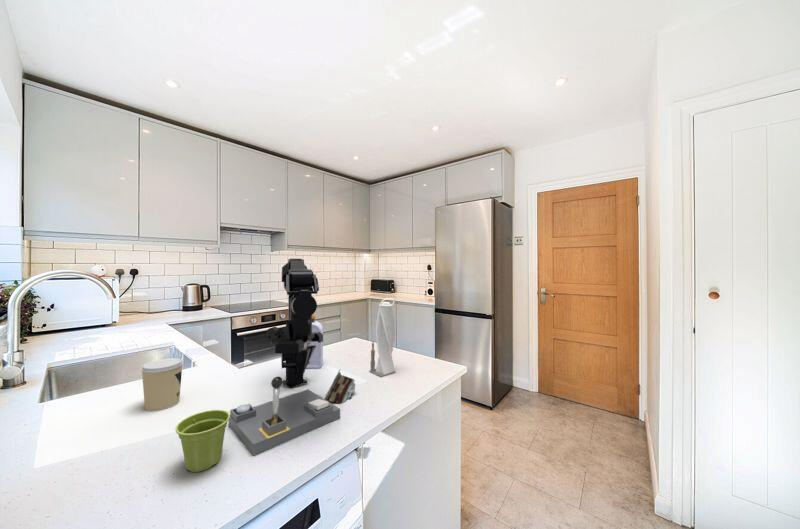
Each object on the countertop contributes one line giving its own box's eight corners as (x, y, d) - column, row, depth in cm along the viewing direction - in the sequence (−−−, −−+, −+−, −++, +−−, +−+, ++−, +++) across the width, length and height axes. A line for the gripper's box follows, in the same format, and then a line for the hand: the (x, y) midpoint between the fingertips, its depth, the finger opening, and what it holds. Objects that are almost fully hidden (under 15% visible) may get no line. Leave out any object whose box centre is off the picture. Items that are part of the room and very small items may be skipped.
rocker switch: (308, 406, 79) (307, 402, 79) (318, 402, 81) (318, 398, 82) (317, 410, 76) (317, 405, 76) (328, 405, 78) (328, 401, 78)
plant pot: (168, 485, 55) (168, 438, 55) (182, 454, 64) (182, 414, 64) (226, 471, 59) (226, 427, 59) (232, 444, 68) (232, 406, 68)
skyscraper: (386, 366, 119) (387, 296, 118) (400, 372, 113) (400, 298, 112) (369, 371, 113) (370, 298, 113) (382, 378, 107) (383, 300, 107)
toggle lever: (269, 424, 70) (272, 376, 73) (281, 423, 71) (284, 376, 74) (267, 426, 68) (270, 377, 71) (279, 425, 68) (282, 376, 71)
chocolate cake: (345, 410, 85) (360, 371, 93) (322, 401, 86) (339, 363, 94) (345, 419, 92) (359, 382, 100) (324, 411, 93) (339, 375, 101)
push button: (234, 411, 75) (234, 407, 75) (247, 407, 77) (247, 403, 77) (238, 416, 73) (238, 411, 73) (251, 411, 75) (251, 407, 75)
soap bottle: (296, 370, 114) (297, 310, 114) (299, 363, 121) (300, 307, 121) (321, 369, 115) (321, 309, 115) (322, 362, 122) (323, 307, 122)
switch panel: (228, 424, 76) (228, 407, 76) (308, 397, 91) (308, 382, 91) (253, 456, 64) (253, 435, 64) (340, 418, 79) (340, 401, 79)
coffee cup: (186, 404, 86) (186, 362, 86) (143, 416, 79) (143, 371, 79) (178, 394, 92) (179, 355, 92) (139, 404, 86) (139, 362, 85)
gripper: (288, 314, 92) (288, 366, 90) (253, 319, 73) (252, 385, 72) (323, 313, 91) (324, 365, 89) (297, 318, 72) (297, 384, 71)
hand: (301, 374), depth 80 cm, fingers closed
